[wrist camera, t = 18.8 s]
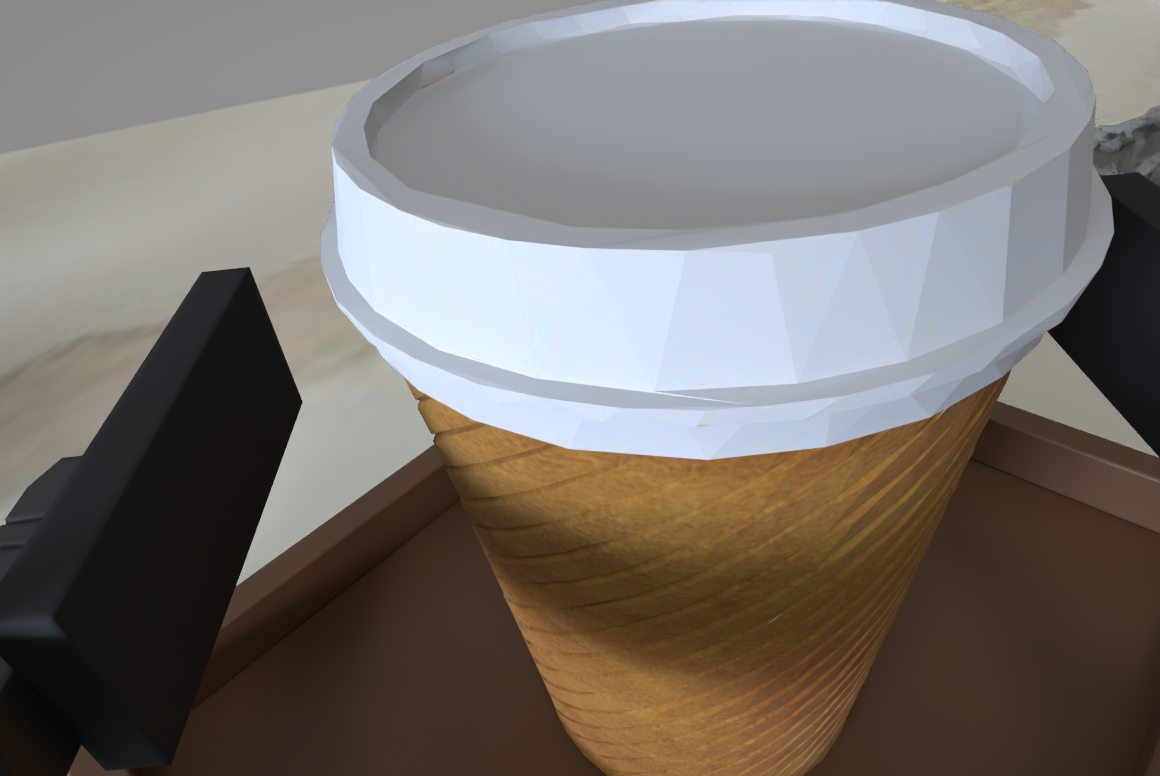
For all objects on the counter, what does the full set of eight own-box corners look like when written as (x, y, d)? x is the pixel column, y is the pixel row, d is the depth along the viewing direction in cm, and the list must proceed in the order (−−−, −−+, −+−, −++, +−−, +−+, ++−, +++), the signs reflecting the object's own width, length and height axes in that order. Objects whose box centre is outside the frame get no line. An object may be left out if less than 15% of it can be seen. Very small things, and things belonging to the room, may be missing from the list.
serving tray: (92, 784, 17) (37, 727, 16) (662, 339, 28) (660, 281, 26) (804, 1910, 8) (826, 2023, 6) (1251, 575, 18) (1296, 504, 17)
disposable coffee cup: (921, 517, 20) (1051, -34, 12) (965, 976, 12) (1344, 315, 5) (543, 475, 22) (460, -7, 15) (397, 840, 15) (90, 257, 7)
